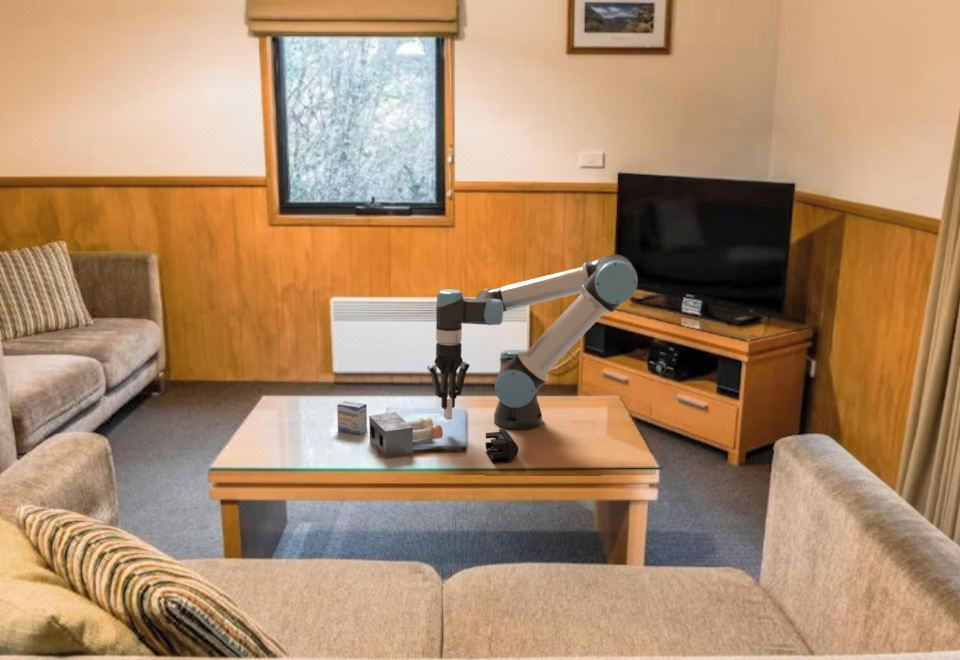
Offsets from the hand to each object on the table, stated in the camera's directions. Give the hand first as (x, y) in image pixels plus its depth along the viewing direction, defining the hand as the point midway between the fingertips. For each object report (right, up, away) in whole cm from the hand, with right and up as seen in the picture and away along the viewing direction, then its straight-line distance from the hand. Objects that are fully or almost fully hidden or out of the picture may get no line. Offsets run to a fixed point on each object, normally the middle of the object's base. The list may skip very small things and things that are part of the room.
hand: (447, 418), depth 258 cm
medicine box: (-29, -4, +3) cm, 30 cm away
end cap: (+16, -9, -17) cm, 25 cm away
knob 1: (-12, -4, -5) cm, 13 cm away
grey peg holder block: (-16, -7, -11) cm, 21 cm away
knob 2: (-9, -5, -12) cm, 15 cm away
